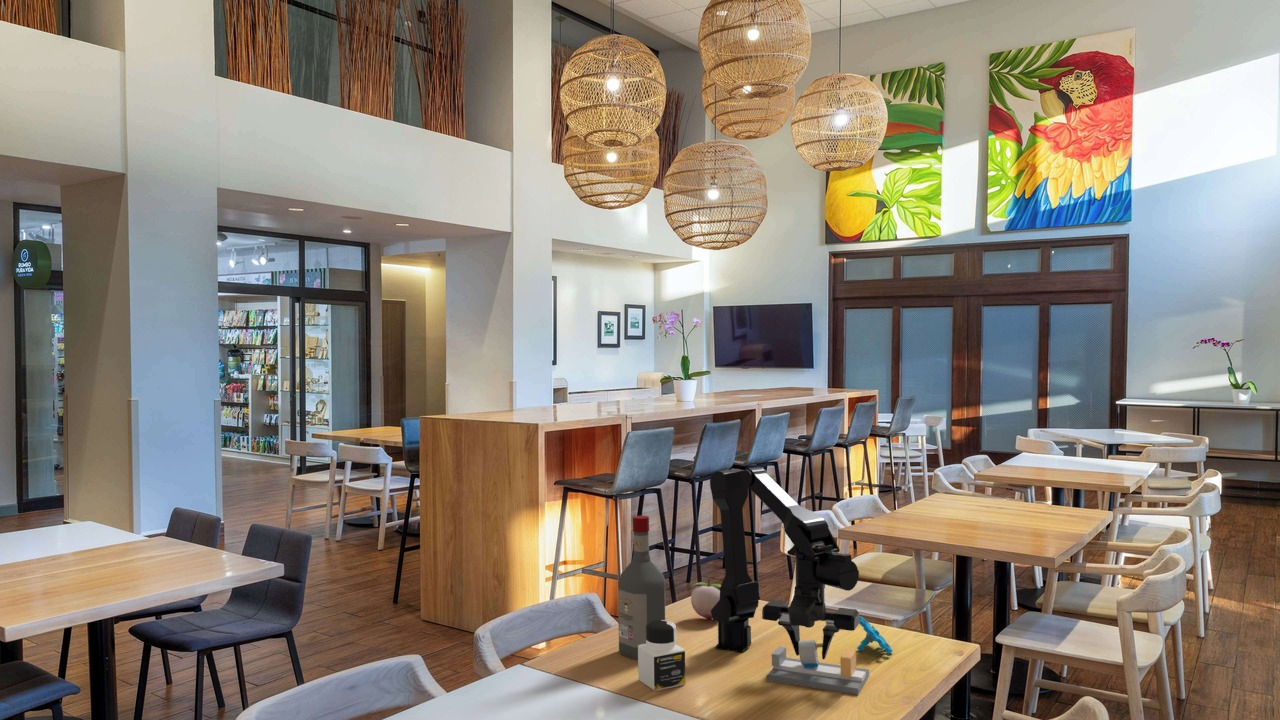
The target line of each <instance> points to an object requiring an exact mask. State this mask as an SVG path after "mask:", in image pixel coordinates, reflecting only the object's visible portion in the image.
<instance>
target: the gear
mask: <svg viewBox="0 0 1280 720" xmlns="http://www.w3.org/2000/svg"><path fill="white" fill-rule="evenodd" d="M859 622H860V623H859V624H858V625H860V626H861V627H862V628H863V630H864V632H866V633H865V637H864V638H863V639H862V640H861V641H860V642H859V643H860V644H859V645H858V646H857V647H856V649H857V651H859V652H862V651H863V650H864V649H865V648H866V647H867V646H868V645H869V644H870V643H871V644H873V642H875V643H878V646H879V647H880V648H881V650H884V651H885V652H886V653H887V654H888V655H890V654H891V653H893V651H894V650H893V649H892V648H891V645H890V644H889V643H888V642H886V639H885V638H884V636H882V635H880V631H878V629H877V628H876V627H875V626H874V625H871V623H870V622H869V621H868V620H867V619H865V618H864V617H863V616H861V615H859Z"/></svg>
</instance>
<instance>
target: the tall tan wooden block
mask: <svg viewBox="0 0 1280 720" xmlns="http://www.w3.org/2000/svg"><path fill="white" fill-rule="evenodd" d="M839 659H840V660H839V661H840V665H841V676H846V677H851V676H852V675H853V673H854V672H855V670H856V668H857V651H856V650H852V649H844V651H843V653H842V654H841V655H840V657H839Z"/></svg>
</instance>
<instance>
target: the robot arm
mask: <svg viewBox="0 0 1280 720" xmlns="http://www.w3.org/2000/svg"><path fill="white" fill-rule="evenodd" d="M709 479H710V480H709V487H710V492H711V497H712V500H713V501H714V503H715V505H716V506H717V508H719V511H720V522H721V535H722V546H723V556H724V557H723V558H724V567H725V568H724V569H725V570H724V571H725V572H724V573H725V576H724V578H723V580H722V582H721V584H720V585H721V587H720V600H719V601H718V603H717V604H716V605H715V606H714V607H713V608H712V610H711V615H712V619H711V620H713V621H715V622H717V639H718V640H717V644H716V645H715V649H718V650H726V651H732V652H739V653H742V652H744V651H745V650H747V649H748V648H749V647H750V645H752V625H750V624H749V622H750V620H749V619H753V618H755V614H756V610H757V608H758V607H759V602H760V601H759V600H761V597H760V594H759V593H760V591H759V588H760V587H759V583H758V581H755V580H753V579H752V577H751V576H750V574H749V570H748V559H747V549H746V535H745V527H744V526H745V525H744V522H745V521H744V513H743V511H744V510H743V508H744V506H745V503H746V501H747V499H748V497H749V490H751V491H752V492H753V493H754V495H755V496H756V497H757V498H759V500H760V501H761V502H762V503H763V504H765V506H767V507H768V509H769V510H770V511H771V512H772V513H773V514H774V515H775V516H776V517H777V518H778V519H779V520H780V521H781V523H782V525H783V529H784V533H785V535H786V536H787V537H788V539H789V540H790V542H791V543H792V544H793V546H792V547H791V548H790V549H788V550H787V552H786V554H787V555H788V556H792V557H795V559H794V560H795V561H794V562H795V586H794V590H793V596H792V600H791V602H790V604H789V603H788V601H787V600H781V599H780V600H777V599H770V601H768V602H767V603H766V604H765V605H763V607H762V610H761V619H762V620H765V621H773V622H777V624H778V626H782V627H783V628H784V630H786V632H787V634H788V636H789V638H790V642H791V644H792V647H793V650H794V652H795V655H796V656H799V646H798V643H799V641H801V637H800V636H801V634H800V627H805V628H812V627H814V626H815V622H819V621H821V622H825V626H823V628H822V635H823V637H822V643H823V646H822V647H821V649H822V650H821V657H822V658H821V659H822V660H825V659H826V657H827V654H828V651H829V648H830V646H831V643H832V639H833V637H834V636H835V634H837V633H838V632H839V631H841V630H843V631H851V632H854V631H855V630H856V629H857V627H858V626H859V625H860V624H859V623H860V622H859V616H860V612H859V611H858V610H857V609H856V608H846V607H838V608H837V610H836V611H835V612H834V611H827V610H826V607H827V606H826V602H825V601H826V600H825V588H826V586H828V587H832V588H836V589H840V590H843V591H848V592H849V591H852V590H853V589H854V588H855V587H856V586H857V583H858V581H859V575H860V571H859V569H858V566H857V564H856V563H855V562H854V561H853V560H852V555H851V554H850V553H841V549H840V547H839V545H838V543H837V542H836V540H835V538H834V536H833V534H832V532H831V530H830V528H829V524H828V522H827V521H826V519H825V518H823V517H822V516H820V515H819V514H817V513H816V512H814V510H813V511H812V510H810V509H807V508H805V507H803V506H801V505H799V503H797V502H796V500H794V499H793V498H792V497H791V496H790V495H789V494H788V493H787V492H786V491H785V490H784V489H783V488H782V487H781V486H780V485H779V484H778V483H777V482H775V480H774V479H773V478H772V477H771V476H770V475H769V473H768V471H767V470H766V469H765V468H762V467H751V468H746V469H744V470H742V469H739V468H734V469H733V468H732V469H724V470H716V471H715V472H713V474H712V475H711V476H710V478H709ZM799 657H800V656H799Z"/></svg>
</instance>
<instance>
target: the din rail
mask: <svg viewBox="0 0 1280 720" xmlns="http://www.w3.org/2000/svg"><path fill="white" fill-rule="evenodd" d="M771 666H772V669H771V670H770V671H769V672H768V673H767V674H766V675H767V678H766V679H767V682H775V683H779V684H780V683H781V684H787V685H794V686H799V687H806V688H812V689H820V690H825V691H831V692H837V693H844V694H849V695H856V696H859V694H860V693H861V691H862V689H863V688H864V686H865V683H866V682H867V680H868V678H869V677H870V669H868V668H867V669H866V668H862V667H856V670H855V672H854V673H853V675H852V676H851V677H846V676H841V664H840V665H839V664H835V663H828V662H827V663H825V662H821V661H820V662H819V661H818V667H807V668H804V665H802V664H801V661H800V658H792V657H787V647H786V646H781V645H780V646H777V647H776V648H775V649H774V651H772V653H771Z"/></svg>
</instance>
